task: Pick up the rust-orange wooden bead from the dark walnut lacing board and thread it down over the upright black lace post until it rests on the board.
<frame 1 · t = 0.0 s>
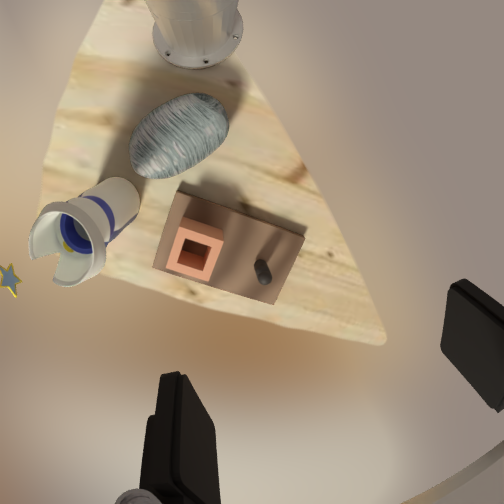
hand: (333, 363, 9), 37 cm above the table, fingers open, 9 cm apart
bead: (195, 242, 44), point 1 cm above the table, touching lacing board
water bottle: (116, 204, 42), on the table
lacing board: (227, 249, 47), on the table
grey streaked oval part: (180, 136, 40), on the table
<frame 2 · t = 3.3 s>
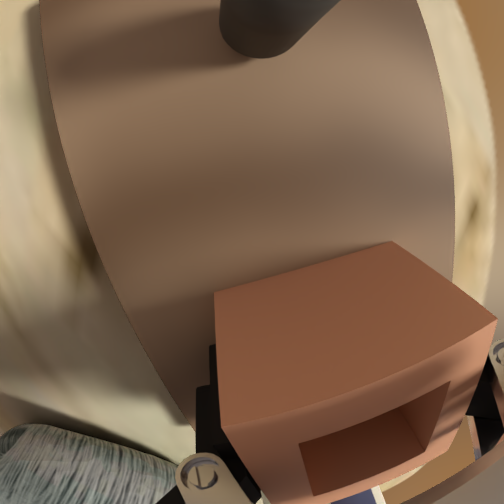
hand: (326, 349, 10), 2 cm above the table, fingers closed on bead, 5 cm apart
bead: (320, 339, 11), point 1 cm above the table, touching gripper, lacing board
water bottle: (314, 464, 17), on the table
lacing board: (284, 193, 10), on the table
grey streaked oval part: (108, 451, 15), on the table
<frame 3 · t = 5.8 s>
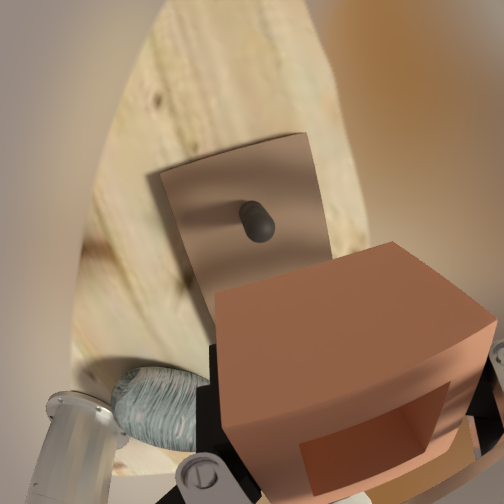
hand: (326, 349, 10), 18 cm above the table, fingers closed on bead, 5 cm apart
bead: (320, 339, 11), point 17 cm above the table, touching gripper
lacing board: (262, 258, 28), on the table
grey streaked oval part: (175, 383, 32), on the table
when the fingers open (4 cm above the table, at t = 8.6 s): bead drops 2 cm, resting on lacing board.
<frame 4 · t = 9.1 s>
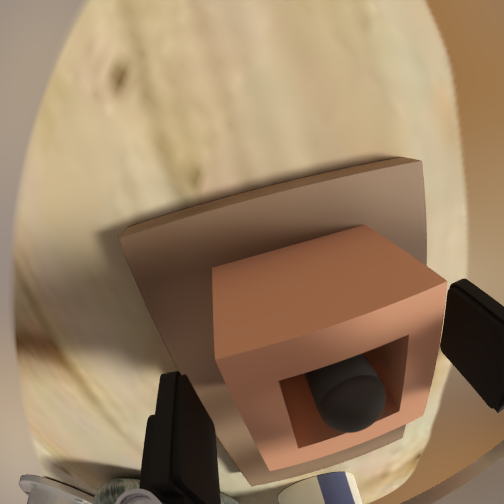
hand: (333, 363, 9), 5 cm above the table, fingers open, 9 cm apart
bead: (305, 311, 12), point 1 cm above the table, touching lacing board
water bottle: (318, 487, 23), on the table
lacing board: (311, 369, 16), on the table
grey streaked oval part: (173, 488, 20), on the table
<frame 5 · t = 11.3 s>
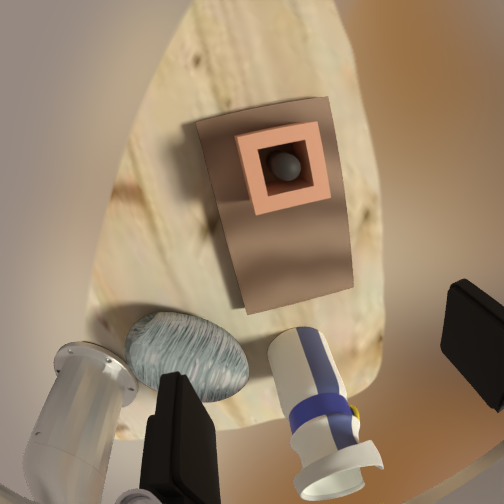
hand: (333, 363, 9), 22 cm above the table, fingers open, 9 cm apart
bead: (275, 160, 27), point 1 cm above the table, touching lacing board
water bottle: (298, 348, 37), on the table
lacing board: (283, 208, 30), on the table
grey streaked oval part: (189, 334, 35), on the table
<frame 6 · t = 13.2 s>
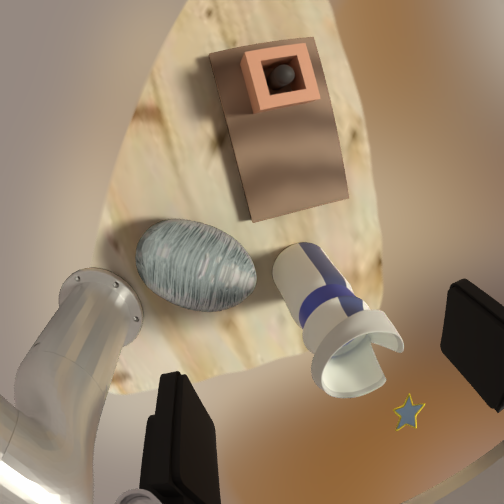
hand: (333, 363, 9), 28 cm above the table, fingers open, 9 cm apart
bead: (273, 83, 30), point 1 cm above the table, touching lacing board
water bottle: (302, 268, 40), on the table
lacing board: (281, 125, 33), on the table
grey streaked oval part: (197, 251, 38), on the table
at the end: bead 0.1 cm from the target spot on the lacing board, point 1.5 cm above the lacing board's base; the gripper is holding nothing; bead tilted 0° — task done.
